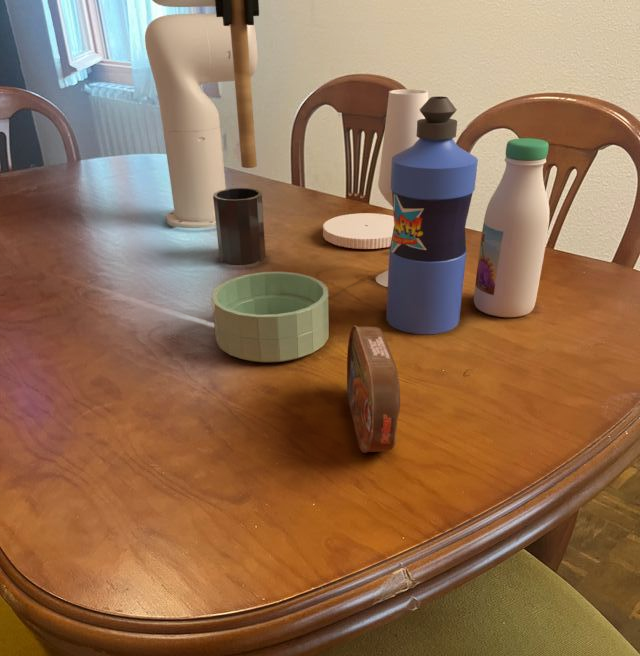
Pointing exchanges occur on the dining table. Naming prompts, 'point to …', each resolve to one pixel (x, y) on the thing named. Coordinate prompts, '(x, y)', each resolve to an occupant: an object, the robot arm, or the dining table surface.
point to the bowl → (271, 316)
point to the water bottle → (429, 225)
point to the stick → (243, 83)
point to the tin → (372, 389)
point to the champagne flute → (398, 138)
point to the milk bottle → (514, 234)
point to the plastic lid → (360, 230)
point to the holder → (240, 225)
